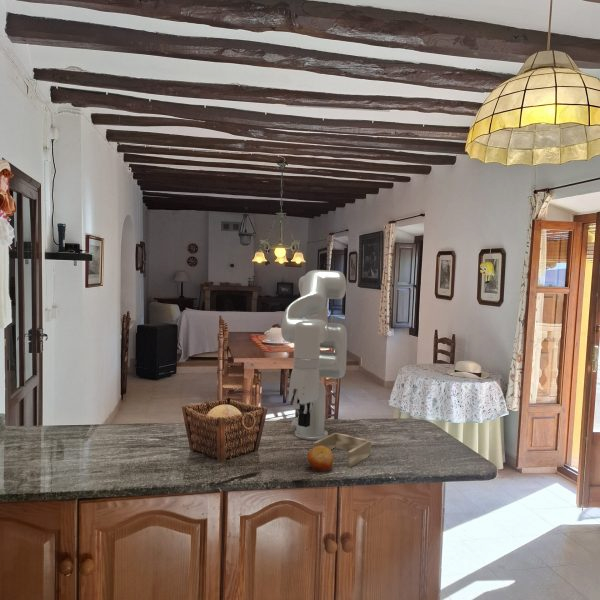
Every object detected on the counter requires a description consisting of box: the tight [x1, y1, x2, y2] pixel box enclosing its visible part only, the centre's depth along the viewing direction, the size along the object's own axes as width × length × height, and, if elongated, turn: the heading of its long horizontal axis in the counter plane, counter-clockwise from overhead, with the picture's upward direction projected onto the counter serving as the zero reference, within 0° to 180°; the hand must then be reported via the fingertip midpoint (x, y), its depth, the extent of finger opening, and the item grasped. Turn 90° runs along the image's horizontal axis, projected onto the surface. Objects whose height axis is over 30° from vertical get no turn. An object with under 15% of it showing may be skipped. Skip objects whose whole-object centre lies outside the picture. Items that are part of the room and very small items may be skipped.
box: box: [313, 431, 372, 469], centre depth 171 cm, size 14×14×5 cm
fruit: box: [307, 445, 334, 472], centre depth 160 cm, size 8×8×8 cm
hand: (303, 425), depth 150 cm, fingers closed
